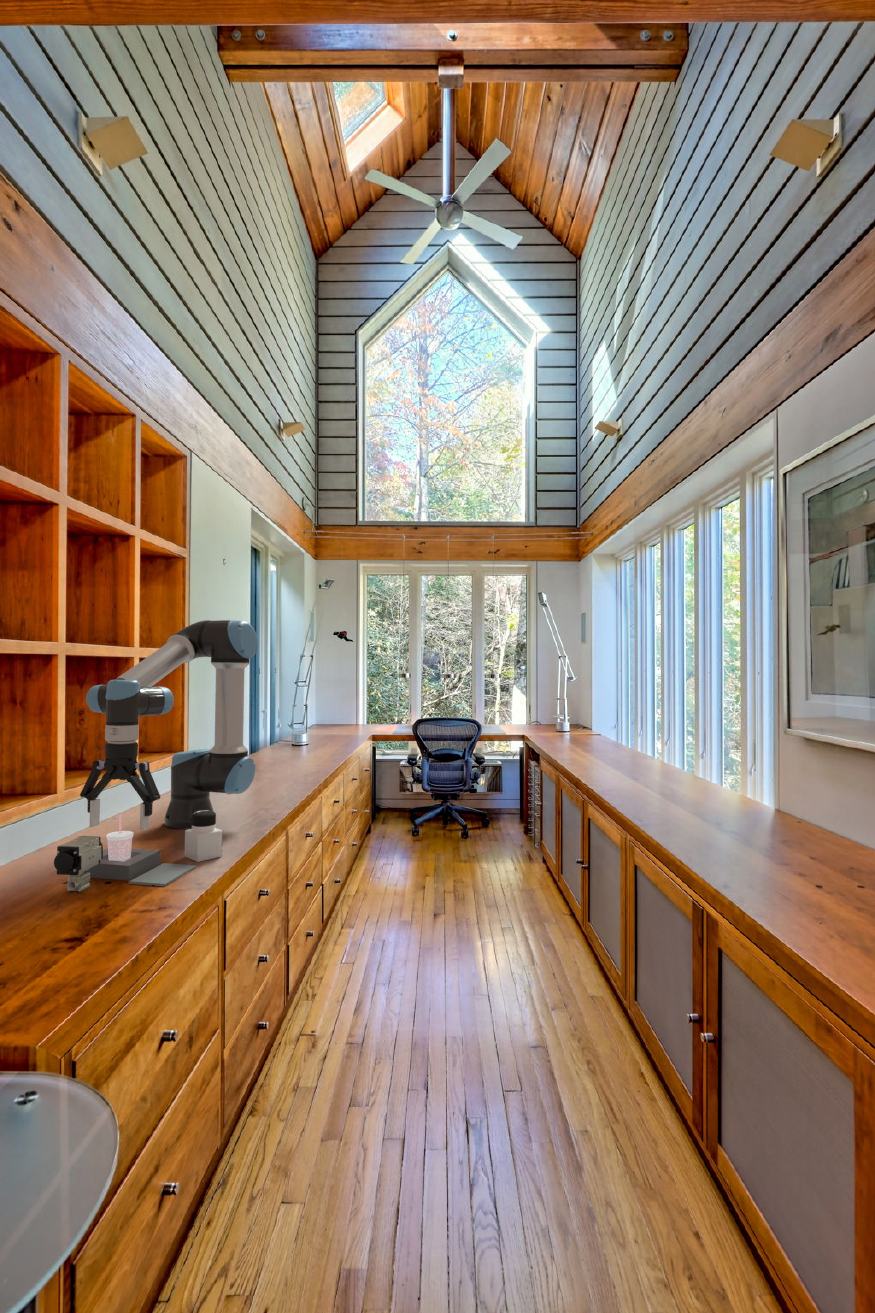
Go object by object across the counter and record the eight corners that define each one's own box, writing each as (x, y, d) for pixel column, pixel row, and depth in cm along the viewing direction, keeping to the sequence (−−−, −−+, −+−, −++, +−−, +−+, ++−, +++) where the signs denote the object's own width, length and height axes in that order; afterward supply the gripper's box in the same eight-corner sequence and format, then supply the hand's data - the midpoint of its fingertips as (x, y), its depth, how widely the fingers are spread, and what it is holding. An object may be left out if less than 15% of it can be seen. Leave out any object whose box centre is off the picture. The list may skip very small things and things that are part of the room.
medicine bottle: (222, 857, 178) (223, 812, 178) (197, 862, 172) (197, 816, 172) (209, 851, 182) (209, 807, 183) (184, 856, 177) (184, 811, 177)
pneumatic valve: (52, 898, 146) (53, 843, 146) (84, 880, 158) (85, 829, 158) (76, 899, 145) (77, 844, 146) (106, 881, 157) (107, 830, 157)
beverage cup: (104, 875, 161) (105, 817, 161) (106, 867, 167) (107, 812, 167) (132, 872, 164) (133, 815, 164) (133, 865, 169) (134, 810, 170)
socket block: (110, 860, 173) (110, 846, 173) (160, 864, 171) (160, 850, 171) (75, 876, 160) (76, 861, 160) (128, 880, 158) (129, 865, 158)
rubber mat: (163, 865, 170) (163, 863, 170) (196, 867, 168) (196, 865, 168) (129, 883, 156) (129, 881, 156) (165, 886, 154) (165, 884, 154)
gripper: (66, 741, 164) (63, 828, 163) (159, 745, 160) (156, 834, 159) (86, 738, 171) (84, 821, 171) (176, 742, 167) (174, 827, 167)
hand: (119, 827), depth 165 cm, fingers open, 13 cm apart
